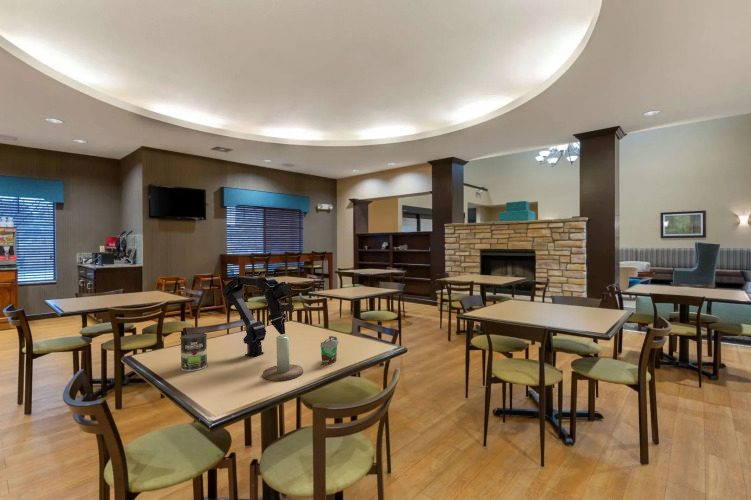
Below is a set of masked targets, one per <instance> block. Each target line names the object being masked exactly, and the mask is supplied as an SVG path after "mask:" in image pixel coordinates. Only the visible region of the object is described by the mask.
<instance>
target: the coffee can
mask: <svg viewBox="0 0 751 500" xmlns="http://www.w3.org/2000/svg"><path fill="white" fill-rule="evenodd" d="M207 337H208V335H207V333H205V332H195V333H194V332H193V333H185V334H182V335H181V336H180V357H181V358H180V370H181V371H182V372H195V371H200V370H203V369H205V368H207V367H208V354H207V353H208V352H207V349H208V348H207V347H208V345H207V343H208V342H207Z"/></svg>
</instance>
